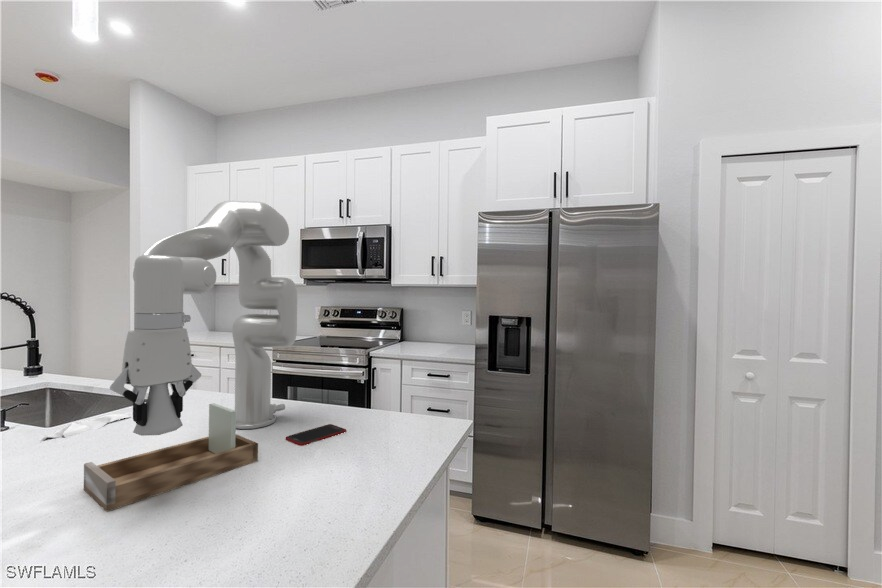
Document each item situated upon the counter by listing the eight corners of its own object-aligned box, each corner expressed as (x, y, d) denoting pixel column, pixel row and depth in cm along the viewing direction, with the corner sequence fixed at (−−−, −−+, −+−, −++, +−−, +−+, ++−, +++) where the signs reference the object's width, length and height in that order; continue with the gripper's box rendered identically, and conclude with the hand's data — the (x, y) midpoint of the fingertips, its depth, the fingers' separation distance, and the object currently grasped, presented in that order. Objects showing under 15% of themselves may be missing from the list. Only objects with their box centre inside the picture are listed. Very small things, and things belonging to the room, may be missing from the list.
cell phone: (347, 433, 117) (347, 429, 117) (301, 448, 105) (301, 444, 105) (330, 426, 122) (330, 423, 122) (283, 440, 110) (284, 436, 110)
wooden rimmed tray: (228, 447, 104) (228, 427, 104) (257, 460, 96) (258, 438, 96) (83, 489, 81) (83, 463, 81) (106, 511, 73) (107, 482, 73)
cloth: (126, 412, 132) (126, 405, 132) (154, 418, 127) (154, 411, 127) (16, 438, 109) (16, 429, 109) (44, 447, 103) (44, 438, 103)
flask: (159, 439, 74) (159, 382, 74) (124, 435, 75) (124, 379, 75) (190, 425, 81) (191, 373, 81) (158, 422, 82) (158, 371, 82)
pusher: (212, 448, 99) (213, 403, 99) (235, 459, 93) (235, 411, 93) (208, 450, 98) (209, 404, 98) (230, 461, 92) (231, 411, 92)
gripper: (197, 318, 87) (196, 406, 87) (94, 324, 73) (94, 428, 73) (216, 321, 82) (215, 413, 83) (110, 327, 68) (110, 438, 69)
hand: (158, 419), depth 78 cm, fingers closed on flask, 4 cm apart
